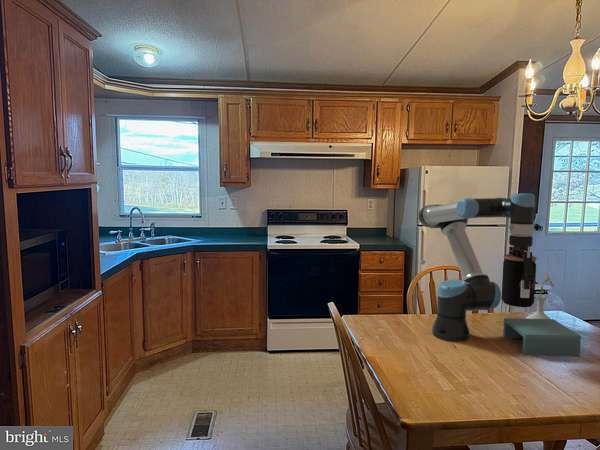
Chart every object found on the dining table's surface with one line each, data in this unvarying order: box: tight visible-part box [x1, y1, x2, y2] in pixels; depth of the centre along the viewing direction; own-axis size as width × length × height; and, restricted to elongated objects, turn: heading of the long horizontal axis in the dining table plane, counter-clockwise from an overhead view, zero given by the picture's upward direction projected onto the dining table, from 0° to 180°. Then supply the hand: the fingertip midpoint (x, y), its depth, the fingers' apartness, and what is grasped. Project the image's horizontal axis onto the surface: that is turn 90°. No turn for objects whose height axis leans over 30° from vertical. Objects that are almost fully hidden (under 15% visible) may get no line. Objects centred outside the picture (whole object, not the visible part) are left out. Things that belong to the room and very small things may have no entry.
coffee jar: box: [501, 253, 537, 308], centre depth 142 cm, size 11×11×18 cm
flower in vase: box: [525, 271, 555, 319], centre depth 175 cm, size 13×11×25 cm
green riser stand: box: [502, 317, 582, 357], centre depth 153 cm, size 20×18×8 cm
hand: (517, 293), depth 143 cm, fingers closed on coffee jar, 11 cm apart
